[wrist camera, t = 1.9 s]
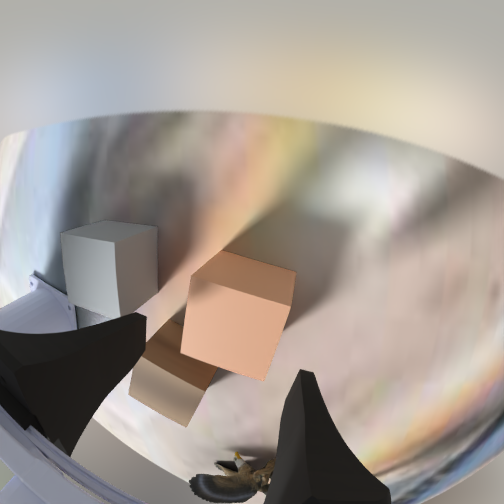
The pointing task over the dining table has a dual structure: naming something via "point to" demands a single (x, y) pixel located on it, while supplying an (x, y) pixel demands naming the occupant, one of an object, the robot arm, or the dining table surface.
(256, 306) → the terracotta block
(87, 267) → the slate grey block
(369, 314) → the dining table surface
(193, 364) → the walnut block
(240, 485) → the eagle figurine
